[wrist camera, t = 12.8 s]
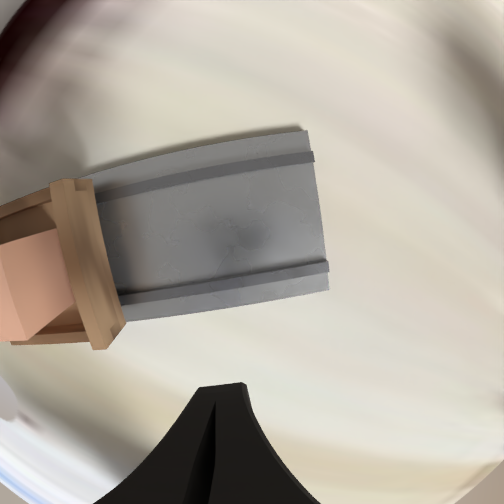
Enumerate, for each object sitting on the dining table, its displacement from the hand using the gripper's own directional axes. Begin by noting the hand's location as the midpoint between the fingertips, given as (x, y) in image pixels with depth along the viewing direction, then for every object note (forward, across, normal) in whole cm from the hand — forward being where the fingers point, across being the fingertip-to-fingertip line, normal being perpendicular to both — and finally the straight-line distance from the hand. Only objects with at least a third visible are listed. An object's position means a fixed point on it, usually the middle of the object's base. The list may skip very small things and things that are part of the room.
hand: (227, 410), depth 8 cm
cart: (+10, +10, -4) cm, 15 cm away
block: (+7, +10, -4) cm, 13 cm away
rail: (+10, +6, -4) cm, 12 cm away
